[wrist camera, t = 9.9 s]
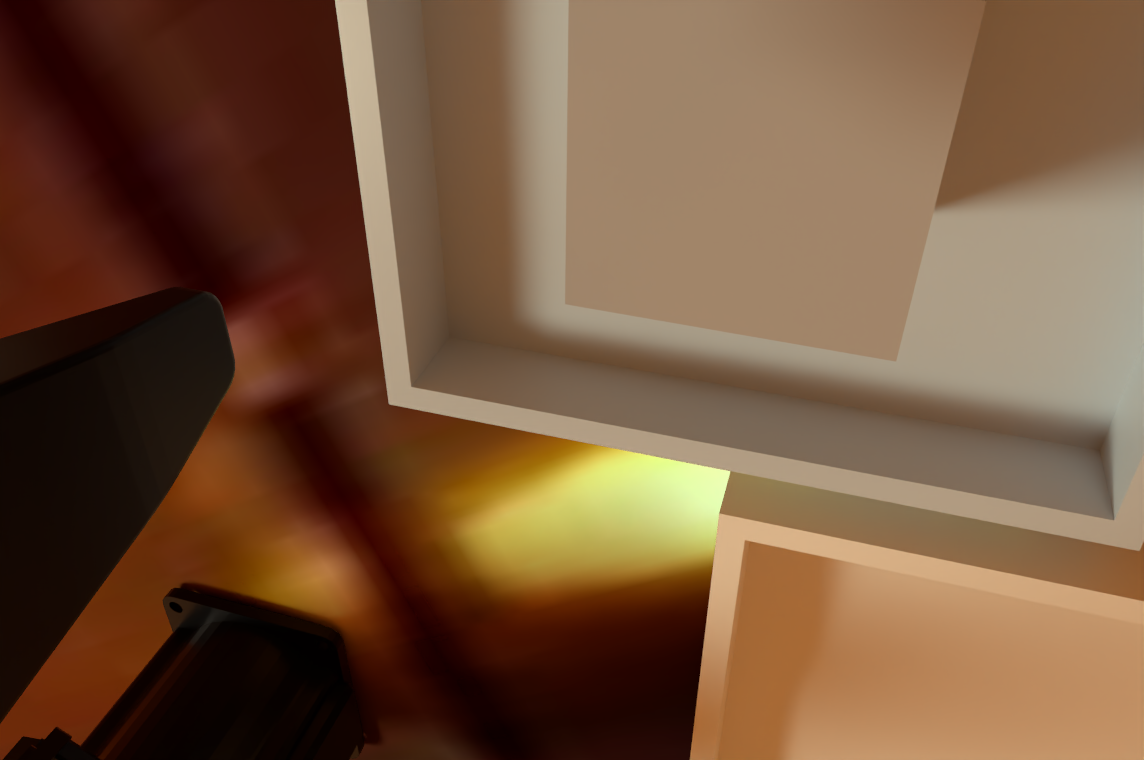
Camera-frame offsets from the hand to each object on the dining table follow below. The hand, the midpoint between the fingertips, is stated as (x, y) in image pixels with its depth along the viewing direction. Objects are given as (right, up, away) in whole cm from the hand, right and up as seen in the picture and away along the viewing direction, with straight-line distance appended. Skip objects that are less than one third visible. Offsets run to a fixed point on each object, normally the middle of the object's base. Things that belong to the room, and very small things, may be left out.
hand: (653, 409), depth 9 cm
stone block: (+3, +6, +8) cm, 11 cm away
